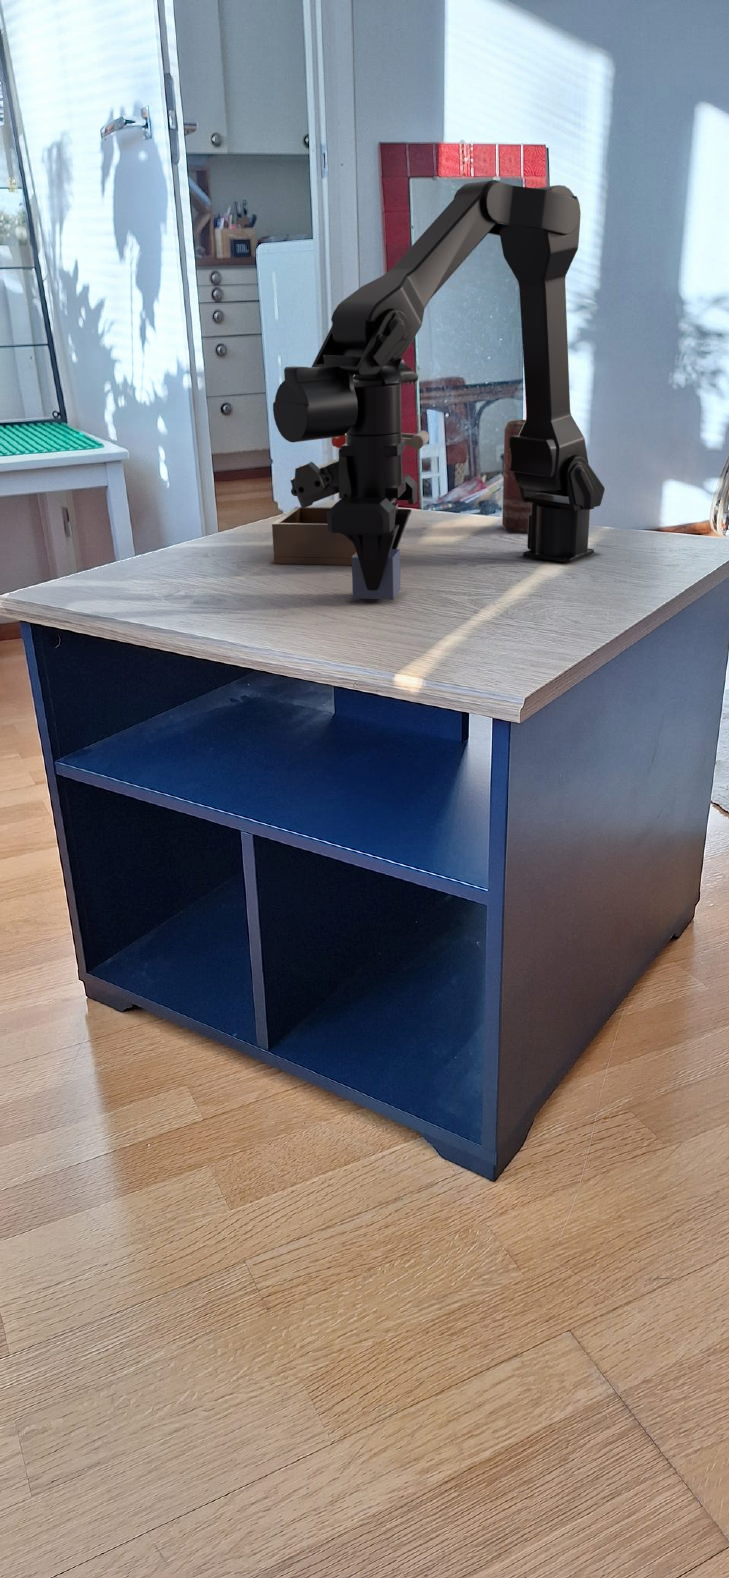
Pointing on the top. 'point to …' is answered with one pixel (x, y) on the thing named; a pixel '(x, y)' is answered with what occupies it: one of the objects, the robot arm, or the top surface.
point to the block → (388, 582)
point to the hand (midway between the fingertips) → (376, 584)
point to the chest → (309, 539)
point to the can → (513, 488)
